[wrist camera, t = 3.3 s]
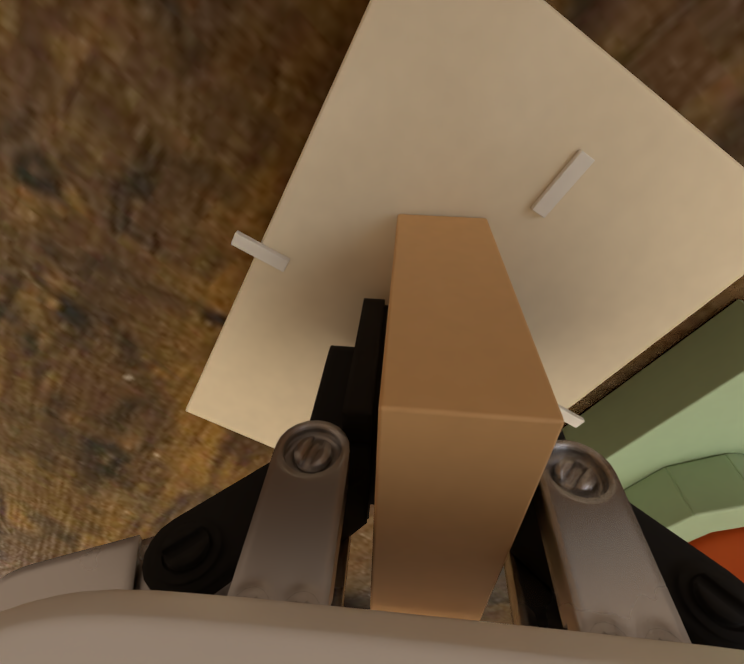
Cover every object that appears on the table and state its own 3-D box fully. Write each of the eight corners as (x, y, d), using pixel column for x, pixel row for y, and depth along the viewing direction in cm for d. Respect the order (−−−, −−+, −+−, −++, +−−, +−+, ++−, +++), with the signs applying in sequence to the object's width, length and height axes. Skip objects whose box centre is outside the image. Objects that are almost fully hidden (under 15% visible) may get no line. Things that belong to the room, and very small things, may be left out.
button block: (738, 298, 13) (850, 389, 9) (920, 428, 15) (1059, 538, 12) (482, 486, 19) (496, 579, 16) (637, 556, 21) (677, 650, 18)
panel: (392, -94, 8) (384, -138, 6) (753, 200, 11) (835, 241, 9) (198, 356, 16) (164, 407, 14) (439, 466, 18) (443, 523, 16)
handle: (397, 212, 9) (376, 424, 4) (487, 217, 9) (574, 440, 4) (385, 424, 13) (367, 659, 8) (447, 429, 13) (467, 671, 8)
